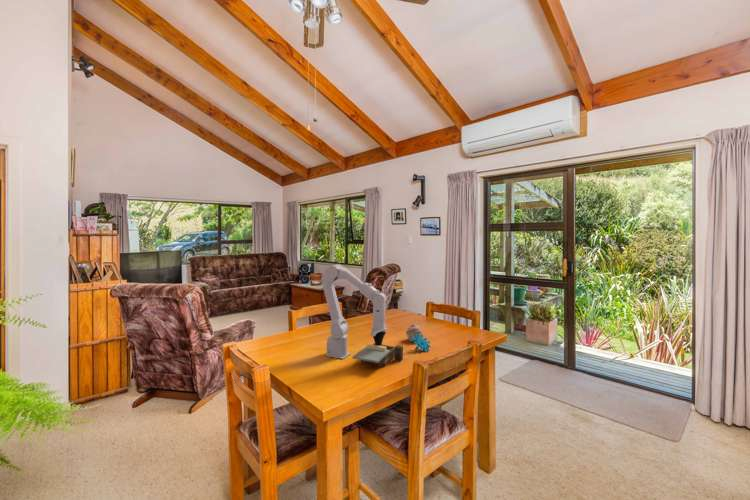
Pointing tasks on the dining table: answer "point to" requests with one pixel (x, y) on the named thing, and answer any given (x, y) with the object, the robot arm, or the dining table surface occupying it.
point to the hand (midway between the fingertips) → (378, 347)
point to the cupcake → (413, 332)
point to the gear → (421, 343)
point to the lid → (372, 353)
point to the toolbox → (386, 358)
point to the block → (398, 353)
